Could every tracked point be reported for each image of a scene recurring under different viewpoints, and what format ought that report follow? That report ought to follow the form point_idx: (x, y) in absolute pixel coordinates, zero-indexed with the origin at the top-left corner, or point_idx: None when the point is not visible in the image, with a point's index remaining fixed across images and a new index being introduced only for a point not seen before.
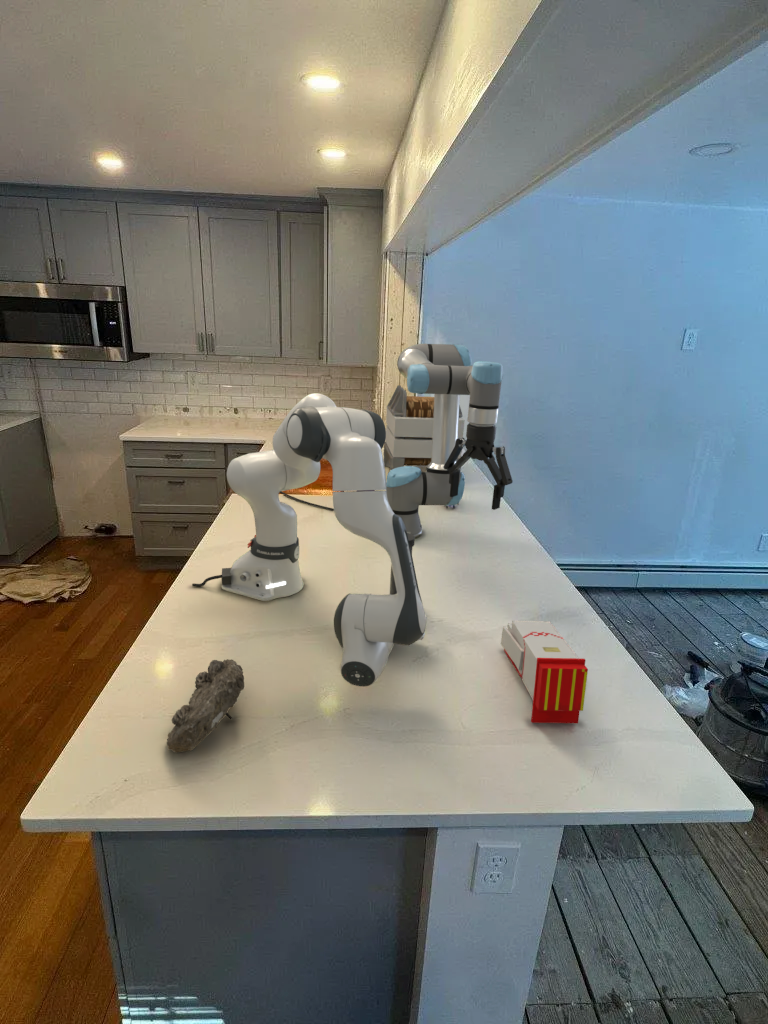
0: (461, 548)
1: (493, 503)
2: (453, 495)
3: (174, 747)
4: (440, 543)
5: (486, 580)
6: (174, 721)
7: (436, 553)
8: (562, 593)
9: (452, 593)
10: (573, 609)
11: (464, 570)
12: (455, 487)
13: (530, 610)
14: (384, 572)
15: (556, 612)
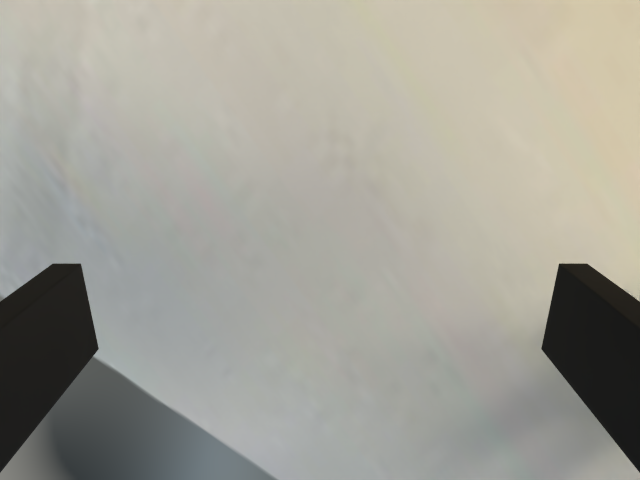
0: (499, 383)
1: (28, 292)
2: (560, 293)
3: None
4: None
5: (311, 257)
6: None
7: (546, 300)
8: (114, 345)
9: (335, 94)
10: None
11: (403, 264)
12: (604, 363)
13: (100, 190)
14: (623, 33)
15: (49, 236)
